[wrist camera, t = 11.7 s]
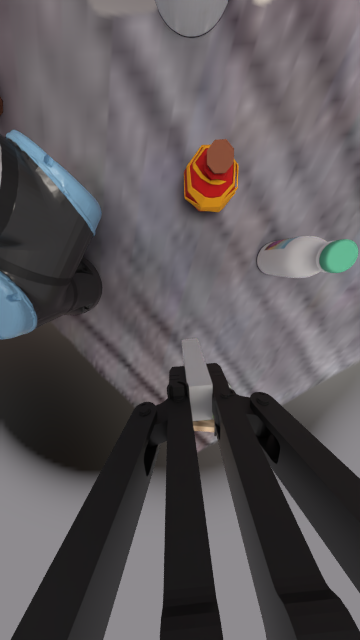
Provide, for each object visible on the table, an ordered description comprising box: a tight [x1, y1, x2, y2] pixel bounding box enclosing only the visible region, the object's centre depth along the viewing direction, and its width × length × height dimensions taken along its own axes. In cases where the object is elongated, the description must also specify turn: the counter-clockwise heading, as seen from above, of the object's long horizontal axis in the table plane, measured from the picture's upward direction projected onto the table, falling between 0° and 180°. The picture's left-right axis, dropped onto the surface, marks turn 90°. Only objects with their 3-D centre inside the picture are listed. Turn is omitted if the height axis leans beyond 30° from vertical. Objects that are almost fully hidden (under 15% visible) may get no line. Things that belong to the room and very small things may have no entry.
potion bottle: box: [184, 139, 238, 212], centre depth 32 cm, size 10×10×15 cm
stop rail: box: [193, 420, 214, 432], centre depth 58 cm, size 19×3×4 cm, turn 82°
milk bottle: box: [257, 236, 358, 278], centre depth 35 cm, size 8×8×20 cm
